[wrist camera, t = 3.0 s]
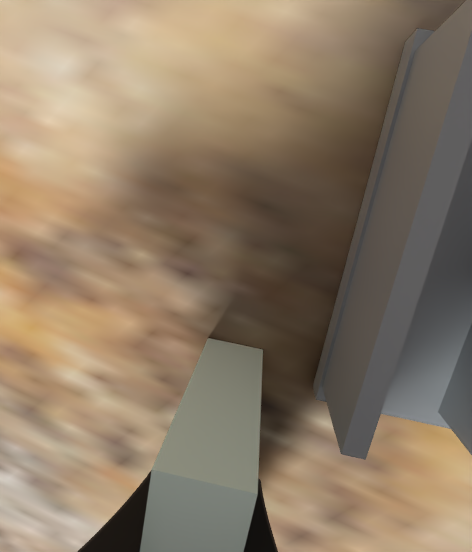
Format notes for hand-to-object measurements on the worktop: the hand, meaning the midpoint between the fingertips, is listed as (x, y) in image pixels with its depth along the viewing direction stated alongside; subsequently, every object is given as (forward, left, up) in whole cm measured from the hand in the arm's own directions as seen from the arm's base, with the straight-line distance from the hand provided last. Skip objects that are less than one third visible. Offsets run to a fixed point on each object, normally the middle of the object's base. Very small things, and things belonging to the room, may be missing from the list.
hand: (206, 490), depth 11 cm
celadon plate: (0, 0, -2) cm, 2 cm away
